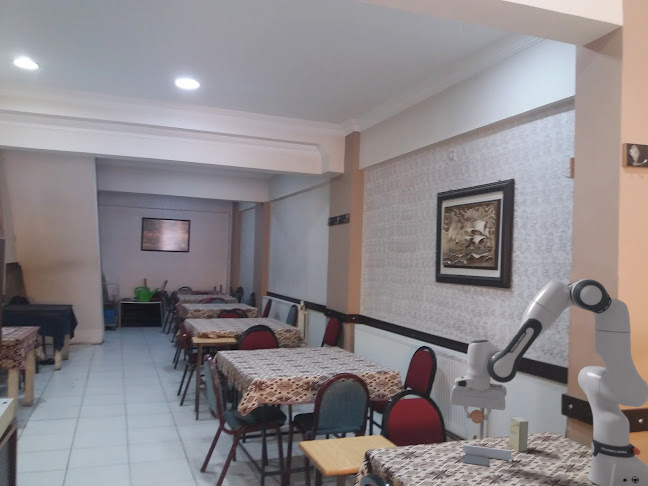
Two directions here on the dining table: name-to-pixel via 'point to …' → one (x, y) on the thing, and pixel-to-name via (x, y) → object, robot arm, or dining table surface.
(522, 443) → the skincare box
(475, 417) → the ball
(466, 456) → the coaster
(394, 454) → the dining table surface
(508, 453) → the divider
